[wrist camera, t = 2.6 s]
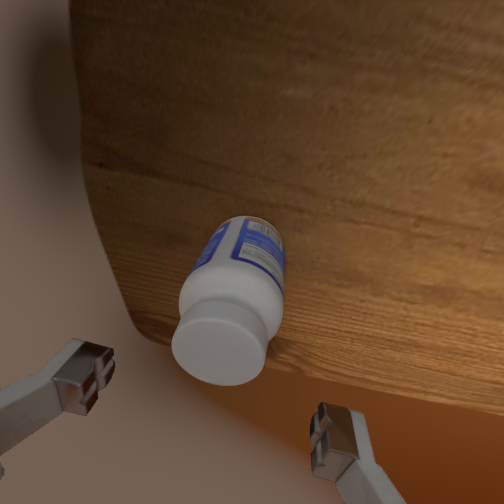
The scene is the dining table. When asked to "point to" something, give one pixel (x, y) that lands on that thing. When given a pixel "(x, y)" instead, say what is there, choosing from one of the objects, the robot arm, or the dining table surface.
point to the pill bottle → (232, 303)
